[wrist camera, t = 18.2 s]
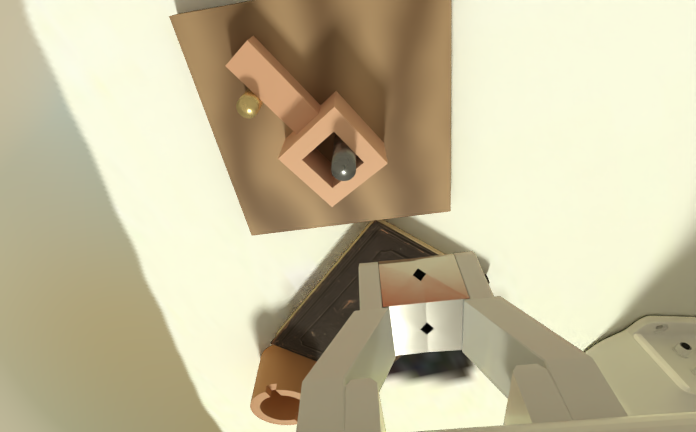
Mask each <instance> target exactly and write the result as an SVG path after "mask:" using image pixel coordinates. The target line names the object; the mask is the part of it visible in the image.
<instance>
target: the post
mask: <svg viewBox="0 0 696 432" xmlns="http://www.w3.org/2000/svg"><path fill="white" fill-rule="evenodd" d="M331 172H332V175H333V176H334V177H335V178H336V179H337V180H340V181H348V180H350V179H352V178H353V177H354V176H355V173H356V154H355V153H354V152H353V151H352V150H351V149H350V148H349V147H348V145H347V144H346V143H345V142H344V141H343V140H342V139H341V138H340V137H339V136H338V135H337V134H336V133H335V135H334V144H333V155H332V166H331Z"/></svg>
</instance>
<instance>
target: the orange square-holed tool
mask: <svg viewBox="0 0 696 432" xmlns="http://www.w3.org/2000/svg"><path fill="white" fill-rule="evenodd" d="M226 67H227V68H228V69H229V70H230V71H231V72H232V73H233V74H234V75H235V76H236V77H237V78H238V79H239V80H240V81H241V82H243V83H244V84H245V85H246V86H247V87H248V88H249V89H250V90H251V91H252V92H253V93H254V94H255V95H256V96H257V97H258V98H259V99H260V100H261V101H262V102H263V103H264V104H265V105H267V106H268V107H269V108H270V109H271V110H272V111H273V112H274V113H275V114H276V115H277V116H278V117H279V118H280V119H281V120H282V121H283V122H284V123H285V124H286V125H287V126H288V127H289V128H291V129H292V130H293V132H292V133H291V134H290V135H289V136H288V137H286V138H285V141H284V144H283V147H282V149H281V152H280V155H279V157H278V159H279V160H280V161H281V162H282V163H283V164H284V165H285V166H287V167H288V168H289V169H290V170H291V171H292V172H293V173H294V174H295V175H297V176H298V177H299V178H300V179H301V180H302V181H303V182H304V183H306V184H307V185H308V186H309V187H310V188H311V189H312V190H313V191H314V192H316V193H317V194H318V195H319V196H320V197H321V198H322V199H323V200H324V201H326V202H327V203H328V204H329V205H330V206H331V207H333V206H334V205H335V204H337V203H338V202H339V201H341V200H342V199H343V198H344V197H346V196H347V195H348V194H349V193H351V192H352V191H353V190H355V189H356V188H357V187H358V186H360V185H361V184H362V183H364V182H365V181H366V180H367V179H369V178H370V177H371V176H372V175H374V174H375V173H376V172H378V171H379V170H380V169H381V168H383V167H384V166H385V165H387V164H388V162H387V157H386V151H385V146H384V142H383V141H382V140H381V139H380V138H379V137H378V136H377V135H376V134H375V133H374V131H373V130H372V129H371V128H370V127H369V126H368V125H367V124H366V123H365V122H364V121H363V119H362V118H361V117H360V116H359V115H358V114H357V113H356V112H355V111H354V110H353V109H352V107H351V106H350V105H349V104H348V103H347V102H346V101H345V100H344V99H343V98H342V97H341V95H340V94H339V93H338V92H337V91H335V92H334V93H333V94H332V95H331V96H330V97H329V98H328V99H327V100H326V101H325V102H324V103H322V104H321V105H320V104H319V103H318V102H317V101H316V100H315V99H314V98H313V97H312V96H311V95H310V94H309V93H308V92H307V91H306V90H305V89H304V88H303V87H302V86H301V85H300V83H299V82H298V81H297V80H296V79H295V78H294V77H293V76H292V75H291V74H290V73H289V72H288V71H287V70H286V69H285V68H284V67H283V66H282V65H281V64H280V63H279V62H278V61H277V60H276V58H275V57H274V56H273V55H272V54H271V53H270V52H269V51H268V50H267V49H266V48H265V47H264V46H263V45H262V44H261V43H260V42H259V41H258V40H257V39H256V38H255V37H254V36H252V37H251V38H250V39H248V40H247V41H246V42H245V43H244V45H243V46H242V47H241V48H240V49H239V50H238V52H237V53H236V54H235V55H234V56H233V57H232V59H231V60H230V61H229V62H228V63H227V64H226ZM333 132H335V133H336V134H337V135H338V136H339V137H340V138H341V139H342V140H343V141H344V142H345V143H346V144H347V145H348V147H349V148H350V149H351V150H352V151H353V152H354V153H355V154H356V173H355V176H354V177H353V178H352V179H350V180H348V181H340V180H337V179H336V178H335V177H334V176H333V175H332V172H331V166H332V163H331V162H330V161H329V160H328V159H327V158H326V157H325V156H323V155H322V154H321V153H320V152H319V151H318V150H317V149H316V147H317V146H318V145H319V144H320V143H321V142H323V141H324V140H325V139H326V138H327V137H328V136H329V135H330V134H332V133H333Z"/></svg>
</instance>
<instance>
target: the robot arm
mask: <svg viewBox="0 0 696 432" xmlns="http://www.w3.org/2000/svg"><path fill="white" fill-rule="evenodd" d="M378 263H379V265H378ZM359 297H360V310H358V311H354V312H353V313H352V315H351V316H350V317H349V319H348V320H347V322H346V323H345V324H344V326H343V327H342V328H341V330H340V331H339V332H338V334H337V335H336V336H335V338H334V339H333V341H332V342H331V343H330V345H329V346H328V347H327V349H326V350H325V351H324V353H323V354H322V355H321V357H320V358H319V360H318V361H317V362H316V364H315V365H314V366H313V368H312V369H311V370H310V372H309V373H308V375H307V376H306V377H305V379H304V380H303V381H302V387H301V396H300V404H299V413H298V421H297V430H296V432H386V428H385V423H384V417H383V412H382V406H381V401H380V395H379V392H380V389H381V387H382V385H383V383H384V381H385V379H386V377H387V375H388V373H389V370H390V368H391V366H392V364H393V362H394V360H395V356H397V355H406V354H414V353H423V352H434V351H450V350H462V352H463V353H464V354H465V355H466V356H467V357H468V358H469V359H470V360H471V361H472V362H473V363H474V364H475V365H476V366H477V367H478V368H479V369H480V370H481V371H482V372H483V374H484V375H485V376H486V377H487V378H488V379H489V380H490V381H491V382H492V383H493V384H494V385H495V386H496V387H497V388H498V389H499V390H500V391H501V392H502V393H503V394H504V395H505V396H506V397H507V398H508V402H507V407H506V413H505V419H504V424H503V425H500V426H486V427H473V428H459V429H445V430H431V431H418V432H696V317H680V316H646V317H643V318H641V319H639V320H638V321H636V322H635V323H633V324H632V325H631V326H629V327H628V328H627V329H625V330H624V331H622V332H620V333H617V334H615V335H613V336H611V337H608V338H606V339H604V340H602V341H601V342H599V343H597V344H596V345H594V346H593V347H591V348H590V349H589V350H588V351H587V352H583V351H582V350H580V349H579V348H577V347H576V346H574V345H573V344H571V343H570V342H568V341H567V340H565V339H564V338H562V337H561V336H559V335H558V334H556V333H555V332H553V331H552V330H550V329H549V328H547V327H546V326H544V325H543V324H541V323H540V322H538V321H537V320H535V319H534V318H532V317H531V316H529V315H528V314H526V313H525V312H523V311H522V310H520V309H519V308H517V307H516V306H514V305H513V304H511V303H510V302H508V301H507V300H505V299H504V298H502V297H501V296H496V297H494V295H493V293H492V291H491V288H490V286H489V284H488V282H487V279H486V277H485V275H484V273H483V270H482V268H481V266H480V264H479V261H478V259H477V257H476V254H475V253H474V252H473V251H467V252H460V253H453V254H446V255H438V256H429V257H421V258H412V259H401V260H390V261H379V262H372V263H360V264H359Z"/></svg>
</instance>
